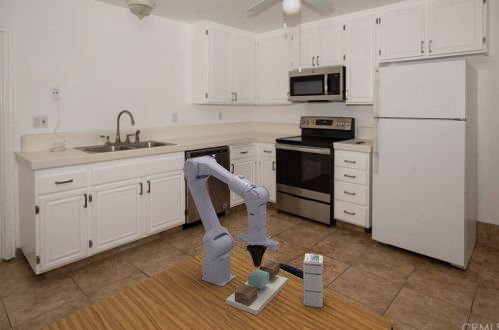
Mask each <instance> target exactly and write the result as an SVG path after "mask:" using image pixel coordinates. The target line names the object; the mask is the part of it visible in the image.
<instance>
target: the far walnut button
mask: <svg viewBox="0 0 499 330" xmlns="http://www.w3.org/2000/svg"><path fill="white" fill-rule="evenodd" d="M280 265H281V264H280V263H279V262H276V261H271V260H268V259H266V260H265V261H263V262H262V263H261V265H260V266H259V270H261V271H265V272H268V273H269V277H270V278H274V277H275V276H276V275H278V274H279V273H280V272H281V271H280V270H281V269H280Z"/></svg>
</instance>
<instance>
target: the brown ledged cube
mask: <svg viewBox="0 0 499 330" xmlns="http://www.w3.org/2000/svg"><path fill="white" fill-rule="evenodd" d="M234 292H235V301H236V302H239V303H242V304H244V305H247V306H250V305H251V304H252V303H253V302H254V301H255V300H256V299H257V288H255V287H252V286H249V285H246V284H245V283H243V284H241V286H239V287H238V288H237V289H235V290H234Z"/></svg>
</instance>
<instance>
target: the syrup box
mask: <svg viewBox="0 0 499 330" xmlns="http://www.w3.org/2000/svg"><path fill="white" fill-rule="evenodd" d="M302 273H303V281H302V282H303V283H302V284H303V306H306V307H314V308H323V303H324V255H323V254H320V253H305V254H304V257H303V272H302Z"/></svg>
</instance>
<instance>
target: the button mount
mask: <svg viewBox="0 0 499 330" xmlns="http://www.w3.org/2000/svg"><path fill="white" fill-rule="evenodd" d="M288 283H289V278H287V277H284V276H281V275H278V274H277V275H276V276H275V277H274V278H270V277H269V282H268V283H267V284H266V285H265V286H264V287H263V288H262V289H260V288H257V287H255V288H257V299H256V300H255V301H254V302H253V303H252V304H251V305H250V306H247V305H244V304H242V303H239V302H236V301H235V291H234V292H233V293H231V294H230V295H229V296H228V297H227V298H226V299H225V304H226V305H228V306H230V307H234V308H236V309H239V310H242V311H244V312H246V313H249V314H253V315H255V316H258V315H259V313H261V311H262V310H263V309H264V308H265V307H266V306H267V305H268V304H269V303H270V302H271V301H272V300H273V299H274V298H275V297H276V296H277V295H278V294H279V293H280V291H281V290H283V289H284V287H285V286H286V285H287V284H288ZM244 284H246V285H248V280H247V281H246V282H245V283H244ZM249 286H251V285H249ZM252 287H254V286H252Z"/></svg>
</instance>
